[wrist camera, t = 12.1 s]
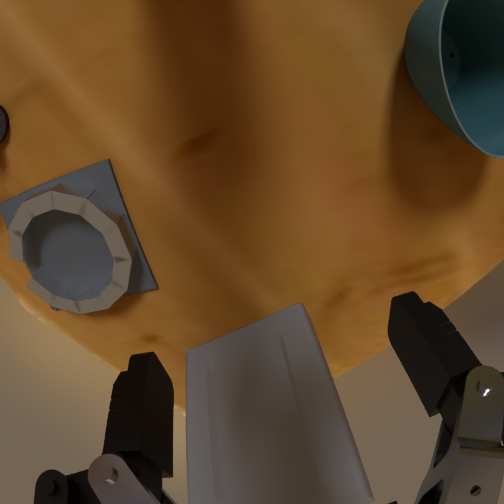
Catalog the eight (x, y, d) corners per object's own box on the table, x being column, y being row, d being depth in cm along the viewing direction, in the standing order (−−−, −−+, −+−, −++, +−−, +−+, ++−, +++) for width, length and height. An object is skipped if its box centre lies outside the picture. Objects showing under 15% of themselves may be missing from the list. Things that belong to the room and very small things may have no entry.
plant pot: (489, 30, 26) (557, 38, 15) (465, 145, 35) (530, 178, 24) (382, -35, 22) (448, -60, 12) (354, 103, 31) (418, 123, 21)
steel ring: (2, 206, 30) (-10, 217, 28) (106, 164, 31) (98, 173, 28) (54, 306, 39) (47, 320, 36) (153, 285, 39) (150, 300, 37)
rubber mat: (-1, 203, 31) (-3, 205, 30) (109, 158, 31) (107, 160, 30) (54, 307, 40) (52, 310, 39) (157, 285, 40) (157, 288, 39)
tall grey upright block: (231, 396, 54) (249, 542, 31) (184, 351, 47) (186, 534, 23) (330, 356, 52) (384, 507, 28) (301, 301, 44) (369, 496, 20)
